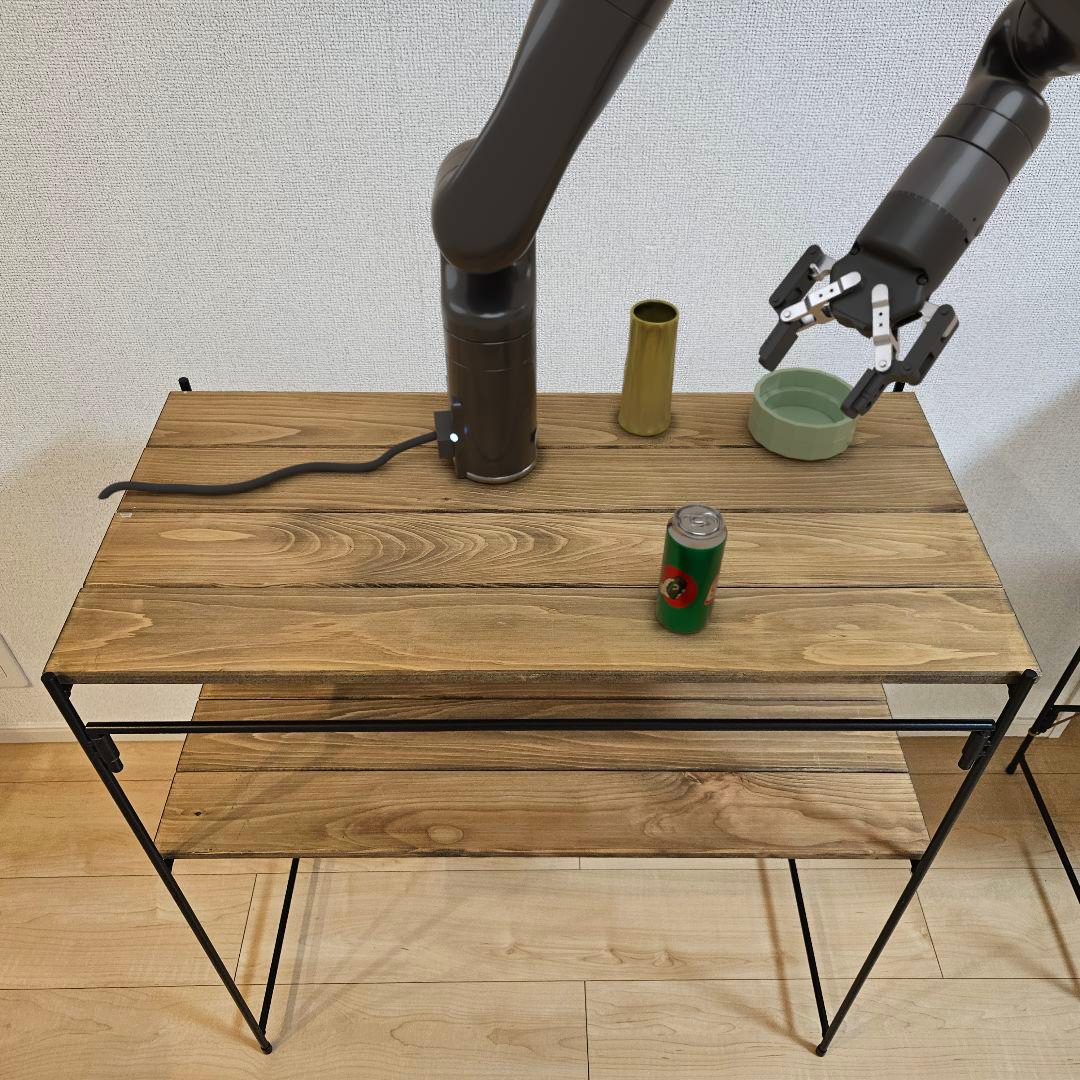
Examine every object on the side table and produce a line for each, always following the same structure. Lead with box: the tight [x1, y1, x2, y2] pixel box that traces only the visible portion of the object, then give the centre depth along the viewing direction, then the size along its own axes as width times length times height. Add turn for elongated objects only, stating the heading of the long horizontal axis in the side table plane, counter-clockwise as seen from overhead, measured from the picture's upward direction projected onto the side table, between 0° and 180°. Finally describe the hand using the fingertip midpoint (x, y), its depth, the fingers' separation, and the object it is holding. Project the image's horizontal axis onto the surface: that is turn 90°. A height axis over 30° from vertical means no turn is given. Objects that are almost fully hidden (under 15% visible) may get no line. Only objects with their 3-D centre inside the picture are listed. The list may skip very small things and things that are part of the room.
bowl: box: [747, 366, 861, 461], centre depth 100 cm, size 12×12×5 cm
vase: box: [617, 298, 680, 437], centre depth 99 cm, size 6×6×14 cm
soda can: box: [655, 502, 728, 634], centre depth 78 cm, size 5×5×12 cm
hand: (804, 390), depth 72 cm, fingers open, 8 cm apart
